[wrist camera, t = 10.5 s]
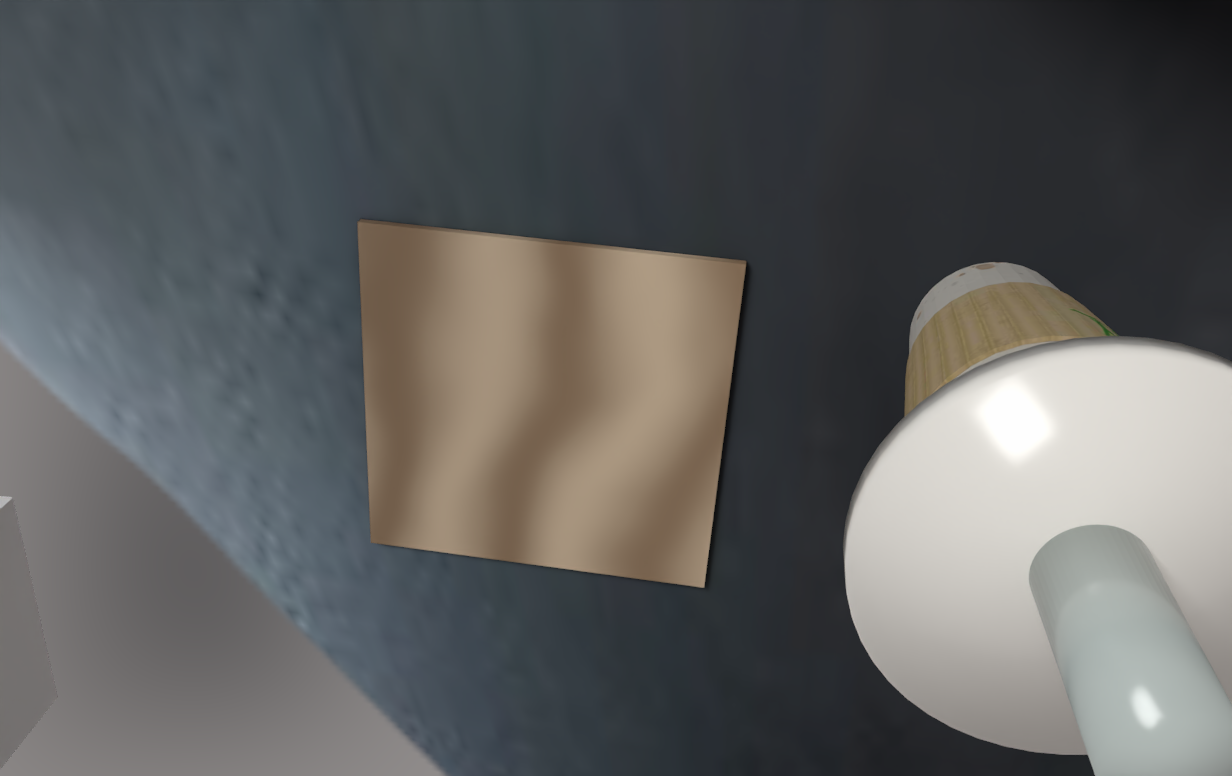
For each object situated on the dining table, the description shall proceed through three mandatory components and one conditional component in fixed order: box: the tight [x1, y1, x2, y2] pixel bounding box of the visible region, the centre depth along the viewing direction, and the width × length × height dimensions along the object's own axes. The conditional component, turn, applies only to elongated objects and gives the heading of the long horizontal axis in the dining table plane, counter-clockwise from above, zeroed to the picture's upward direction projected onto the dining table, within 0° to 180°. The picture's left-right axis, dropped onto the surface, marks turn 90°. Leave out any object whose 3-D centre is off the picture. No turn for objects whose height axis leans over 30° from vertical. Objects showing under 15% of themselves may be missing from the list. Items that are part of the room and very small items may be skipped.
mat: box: [357, 219, 746, 588], centre depth 48 cm, size 16×16×1 cm
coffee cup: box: [905, 262, 1118, 416], centre depth 37 cm, size 10×10×15 cm
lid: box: [843, 336, 1232, 776], centre depth 27 cm, size 13×13×8 cm
